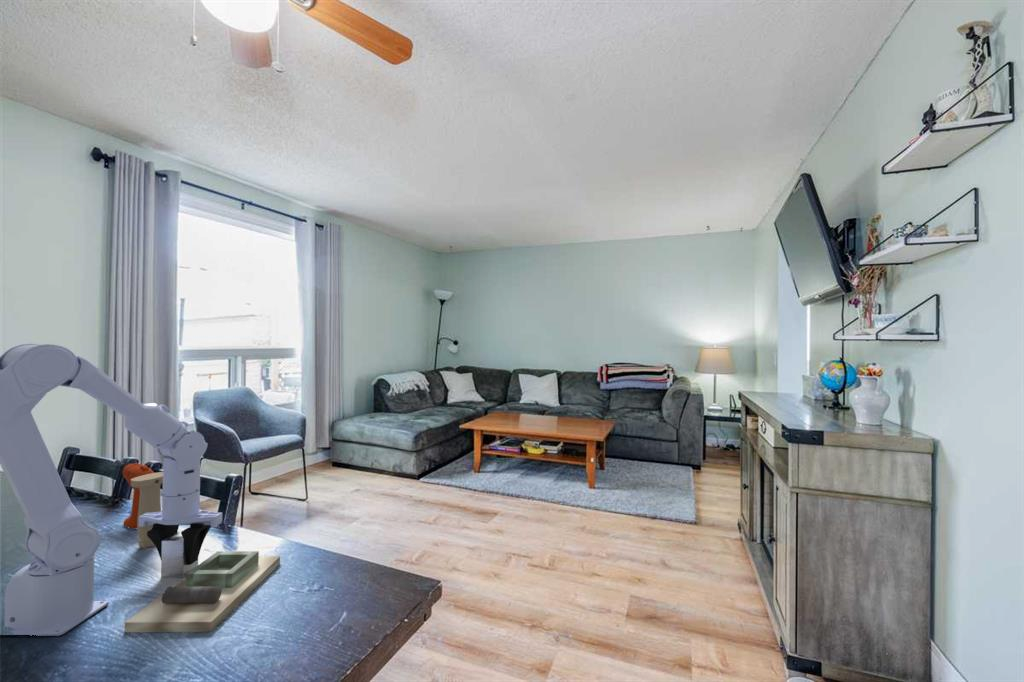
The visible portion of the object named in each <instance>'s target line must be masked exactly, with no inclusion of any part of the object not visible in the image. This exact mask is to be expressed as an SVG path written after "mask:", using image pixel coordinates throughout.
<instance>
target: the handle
mask: <svg viewBox="0 0 1024 682" xmlns="http://www.w3.org/2000/svg"><path fill="white" fill-rule="evenodd" d="M162 485H163V471H159V472H154V473H151V474H146V475H142V476H138V477H135V478H133V479H131V486H133V487H136V488H139V489H140V498H139V509H138V518H137V529H136V531H137V537H138V538H137V539H138V543H137V544H138V547H139V548H142V549H145V548H150V547H155V545H154V543H153V542H152V541H151V539H150V538H149V537H148V536H147V532H148V531H149V530H151V529H152V527H153V525H146V526H143V527H139V516H141V515H143V514H145V513H151V512H162V505H161V504H162V503H161V486H162ZM131 486H130V487H131Z"/></svg>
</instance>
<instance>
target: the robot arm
mask: <svg viewBox="0 0 1024 682" xmlns="http://www.w3.org/2000/svg"><path fill="white" fill-rule="evenodd" d="M58 387H66V388H72V389H78V390H80V391H82V392H84V393H85V394H87V395H89V396H90V397H92V398H93V399H95V400H96V401H98V402H100V403H101V404H103V405H104V406H107V407H108V408H109V409H111V410H113V411H114V412H115V413H117V414H119V415H120V416H122V417H123V418H124V428H125V429H126V430H128V431H129V432H130V433H132V434H134V435H135V436H136V437H138V438H140V439H141V440H142V441H144V442H145V443H147V444H148V445H150V446H152V447H153V448H155V449H156V451H157V453H158V455H161V456H164V457H163V459H162V460H163V463H162V465H163V466H162V467H163V468H162V472H163V483H162V497H161V498H162V499H161V500H162V501H161V502H162V503H161V504H162V505H161V512H151V513H145V514H143V515H141V516H139V527H143V526H146V525H153V527H152V529H151V530H149V531H148V532H147V536H148V537H149V538H150V539H151V541H152V542H153V543H154V547H155V548H156V550H157V553H158V555H159V557H160V560H161V556H162V540H164V539H166V538H168V537H169V536H171V535H173V534H175V533H176V532H178V531H179V528H180V527H179V526H189V527H188V528H187V527H186V529H184V530H181V531H182V532H181V534H182V537H183V539H184V543H185V548H186V563H187V565H191V564H192V563H194V562H195V561H197V560H198V561H199V556H200V552H201V550H202V545H203V543H204V541H205V539H206V536H207V535H208V533H209V531H210V529H211V528H212V527H217V526H218V525H220V524H222V523H223V512H218V511H216V512H215V511H211V510H205V509H201V507H200V503H201V502H200V501H201V500H200V499H201V498H200V497H201V459H202V456H203V455H205V453H206V451H207V449H208V445H209V444H208V442H206V440H205V436H204V435H203V434H202V433H201V432H199V431H195V430H191V429H188V426H189V425H190V424H189V423H188V422H186V421H180V420H179V419H178V418H176V417H175V416H174V415H172V413H170V412H168V411H169V410H170V408H169V407H168V406H167V405H166V404H157V402H149V403H142V402H141V401H140V400H139V399H137V398H136V397H135V396H133V395H132V394H131V393H130V392H129V391H127V390H126V389H125V388H123V386H121V385H119V384H118V383H117V382H116V381H114V380H113V379H112V378H111V377H110V376H108V375H107V374H106V373H105V372H103V370H101V369H99V368H98V367H97V366H95V365H94V364H93V363H92V362H90V361H89V360H87V359H85V358H83V357H81V356H77V355H75V353H74V352H73V351H72V350H70V348H67V347H65V346H63V345H59V344H54V343H51V344H50V343H43V344H38V343H22V344H18V345H14V346H13V347H10V348H9V349H8V350H6V351H5V352H3V353H2V354H1V355H0V466H1V469H2V471H3V473H4V475H5V477H6V479H7V481H8V483H9V484H10V485H9V486H10V487H11V490H12V492H13V493H14V496H15V498H16V500H17V502H18V504H19V506H20V508H21V510H22V512H23V513H24V519H23V523H24V525H25V527H26V536H25V540H24V545H25V549H26V550H27V552H28V553H29V554H32V555H33V556H34V558H33V559H32V560H31V563H29V564H27V565H24V566H23V567H22V568H21V569H18V571H17V572H16V573H14V574H13V576H12V577H11V578H10V580H9V581H8V583H7V586H6V588H5V592H4V593H5V595H4V596H5V597H4V627H5V626H6V627H11V628H13V629H15V630H14V631H15V632H14V634H19V635H30V636H31V637H34V636H35V635H36V636H37V637H42V636H43V637H47V636H48V637H53V636H56V637H58V636H61V635H64V634H66V633H67V632H69V631H70V630H71V629H73V628H75V627H77V626H78V625H79V624H81V623H82V622H84V621H85V620H87V619H89V618H90V617H91V616H93V615H94V614H96V613H97V612H99V611H100V610H103V608H105V607H106V606H108V605H109V604H110V601H109V600H94V599H95V597H94V596H95V595H94V592H95V590H94V589H95V554H96V553H97V551H98V550H99V547H100V545H101V540H102V536H101V533H100V532H99V531H98V529H96V528H95V527H93V526H91V525H89V524H87V522H86V521H85V520H84V517H83V515H82V514H81V512H80V511H79V510H78V509H77V507H76V506H75V505H74V504H73V503H72V501H71V498H70V496H69V494H68V491H67V489H66V487H65V485H64V483H63V480H62V478H61V476H60V474H59V472H58V469H57V467H56V465H55V463H54V461H53V458H52V456H51V454H50V452H49V449H48V448H47V447H48V446H47V445H46V442H45V441H44V438H43V436H42V434H41V432H40V430H39V428H38V427H39V426H38V425H37V423H36V420H35V419H34V417H33V416H34V415H33V414H32V410H33V409H34V408H36V406H37V405H38V403H40V401H41V400H42V399H43V398H44V397H45V396H46V395H47V394H48V393H49V392H51V391H53V390H55V389H56V388H58ZM32 635H34V636H32ZM30 636H29V637H30ZM36 636H35V637H36Z"/></svg>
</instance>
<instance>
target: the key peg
mask: <svg viewBox="0 0 1024 682" xmlns="http://www.w3.org/2000/svg"><path fill="white" fill-rule="evenodd" d="M182 531H183V530H181V531H179V530H178V531H177V532H176V533H175V534H173V535H171V536H169V537H168V538H166V539H164V540H162V556H161V559H160V560H161V561H160V562H161V563H160V564H161V565H160V568H161V569H160V572H161V573H160V578H161V579H184V578H186V577H187V573H188V572H190V571H191V570H192V569H194V568H195V567H197V566H198V565H199V559H198V560H197V561H195V562H194V563H192V564H191V565H187V563H186V548H185V543H184V539H183V537H182V534H181V532H182Z"/></svg>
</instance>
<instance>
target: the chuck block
mask: <svg viewBox="0 0 1024 682" xmlns="http://www.w3.org/2000/svg"><path fill="white" fill-rule="evenodd" d="M280 564H281V556H280V555H279V556H278V555H277V556H274V555H271V556H269V555H267V556H262V555H261V556H260V555H259V551H258V550H257V551H256V550H255V551H253V550H250V551H243V550H242V551H233V550H231V551H230V550H229V551H222V550H220V551H218V550H217V551H216V552H214V553H213V554H211V555H210V556H209V557H208V558H206V559H205V560H203V561H202V562H201V563H200V564H199V563H198V566H197V567H195V568H194V569H192V570H191V571H190V572H188V573H187V575H186V576H185V577H184V578H182V580H180V581H179V582H177V583H176V584H175V585H174V586H168V587H166V589H165V590H164V591H163V593H162V594H161V595H160V596H159V597H157V598H155V600H152V601H151V603H149V604H147V606H145V607H144V608H142V609H141V610H140V611H139V612H137V613H136V614H134V615H133V616H131V617H130V618H129V619H127V620H126V621H125V622H124V633H201V632H202V633H204V632H205V633H208V632H210V633H211V632H212V631H213V630H214V629H216V628H217V626H219V625H220V623H222V621H223V620H224V619H225V618H227V617H228V616H229V615H230V614H231V613H232V612H233V611H234V610H235V609H236V608H237V607H238V606H239V605H240V604H241V603H242V602H243V601H244V600H245V599H246V598H247V597H248V596H249V595H250V594H251V593H252V592H253V591H254V590H255V589H256V588H257V587H258V586H259V585H260V584H261V583H262V582H263V581H264V580H265V579H267V577H269V576H270V575H271V574H272V573H273V572H274V571H275V569H276V568H278V566H280Z"/></svg>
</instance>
